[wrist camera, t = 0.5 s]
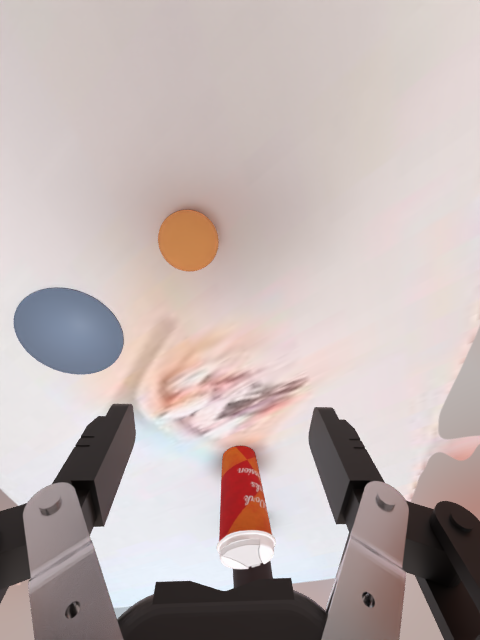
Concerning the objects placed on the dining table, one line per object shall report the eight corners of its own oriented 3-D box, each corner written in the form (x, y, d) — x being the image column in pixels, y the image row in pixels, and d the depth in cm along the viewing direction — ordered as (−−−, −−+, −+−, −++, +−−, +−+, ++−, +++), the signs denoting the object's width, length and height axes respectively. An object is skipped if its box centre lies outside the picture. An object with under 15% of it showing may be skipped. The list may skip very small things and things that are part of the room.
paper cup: (267, 461, 49) (285, 561, 37) (227, 475, 50) (231, 576, 38) (251, 435, 45) (265, 536, 33) (208, 450, 46) (205, 553, 34)
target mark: (10, 276, 30) (8, 276, 29) (128, 301, 32) (127, 301, 32) (18, 364, 35) (18, 365, 35) (119, 380, 37) (118, 380, 37)
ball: (168, 198, 27) (158, 206, 22) (224, 214, 28) (226, 225, 23) (159, 253, 30) (148, 271, 25) (211, 266, 31) (210, 286, 26)
